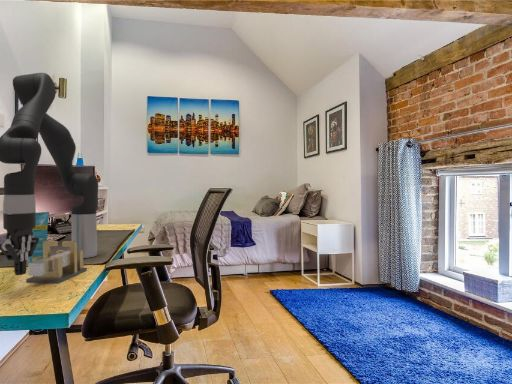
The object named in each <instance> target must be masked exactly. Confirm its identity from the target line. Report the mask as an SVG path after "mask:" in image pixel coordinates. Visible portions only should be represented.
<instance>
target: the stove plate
mask: <svg viewBox="0 0 512 384" xmlns="http://www.w3.org/2000/svg"><path fill="white" fill-rule="evenodd" d="M87 269H88V268H87V267H83V268H82V269H77V272H76V273H70V269H62V277H61V278H59V279H54V278H33V276H30V277H29V278H27V279H25V280H26V284H27V283H29V284H31V283H34V284H37V283H38V284H39V283H40V284H59V283H62V282H64V281H67V280H69V279H71V278H73V277H75V276H76V277H77V276H78V275H80V274H82V273H84V272H86V271H87Z"/></svg>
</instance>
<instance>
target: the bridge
mask: <svg viewBox="0 0 512 384" xmlns="http://www.w3.org/2000/svg"><path fill="white" fill-rule="evenodd" d="M61 244H62V245H61V246H62V248H63V247H64V248H65V247H66V248H67V247H68V248H69V251H70V273H76V272H77V241H72V240H64V241H62V243H61ZM58 245H59V241H58V240H47V241H43V259H44V258H47V257H50V256H51V247H58Z"/></svg>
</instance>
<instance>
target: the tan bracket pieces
mask: <svg viewBox="0 0 512 384" xmlns="http://www.w3.org/2000/svg"><path fill="white" fill-rule="evenodd" d="M62 252H65V249H59V250H56V254H59V253H62ZM56 254H55V255H56ZM40 259H41V257H35V258H32V262H34V261H37V260H40ZM82 268H84V258H83V250H78V251H77V269H82ZM62 269H70V265H68V266H65V267H62V257H57V258H54V271H52V272H49V273H47V274H44V275H42V276H32V277H33V278H54V279H59V278H61V277H62Z"/></svg>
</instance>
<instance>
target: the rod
mask: <svg viewBox="0 0 512 384" xmlns="http://www.w3.org/2000/svg"><path fill="white" fill-rule="evenodd" d="M57 257H62V267H65V266H68V265H70V250H64V252H62V253H59V254H53V255H50V257H47V258H44V259H40V260H37V261H34V262H31V263H30V262H29V263H27V264H28V267H27V268H28V276H29V277H33V276H42V275H44V274H47V273H49V272H52V271H54V258H57Z"/></svg>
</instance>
